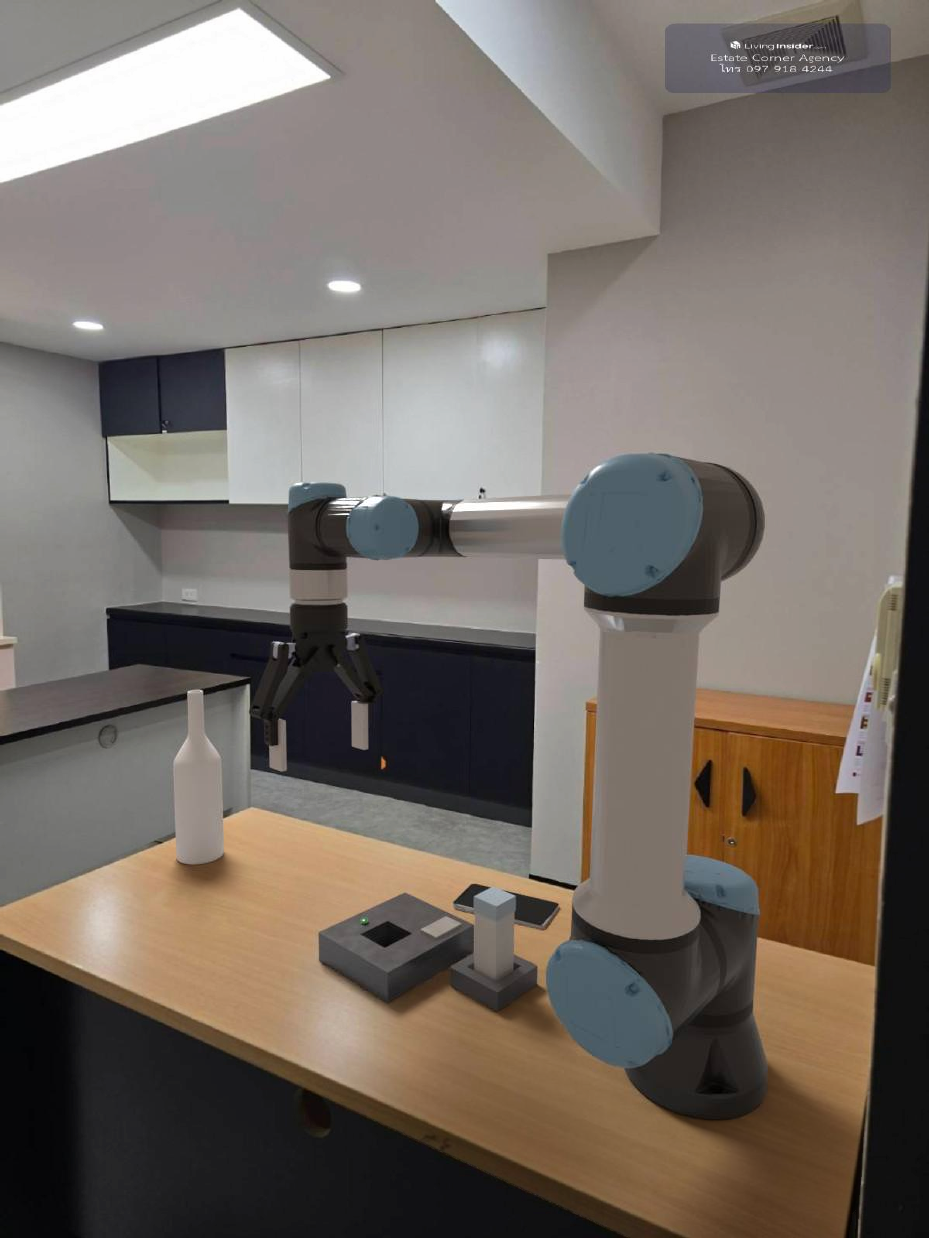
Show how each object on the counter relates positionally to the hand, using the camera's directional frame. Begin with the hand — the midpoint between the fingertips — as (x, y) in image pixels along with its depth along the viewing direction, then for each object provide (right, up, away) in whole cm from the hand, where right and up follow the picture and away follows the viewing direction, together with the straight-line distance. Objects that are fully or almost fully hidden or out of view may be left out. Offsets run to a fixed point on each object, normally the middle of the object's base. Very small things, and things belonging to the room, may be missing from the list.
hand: (321, 758), depth 104 cm
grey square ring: (+23, -28, -5) cm, 37 cm away
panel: (+10, -28, +2) cm, 29 cm away
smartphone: (+26, -27, +16) cm, 40 cm away
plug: (+23, -28, -5) cm, 37 cm away
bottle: (-28, -24, +34) cm, 50 cm away
